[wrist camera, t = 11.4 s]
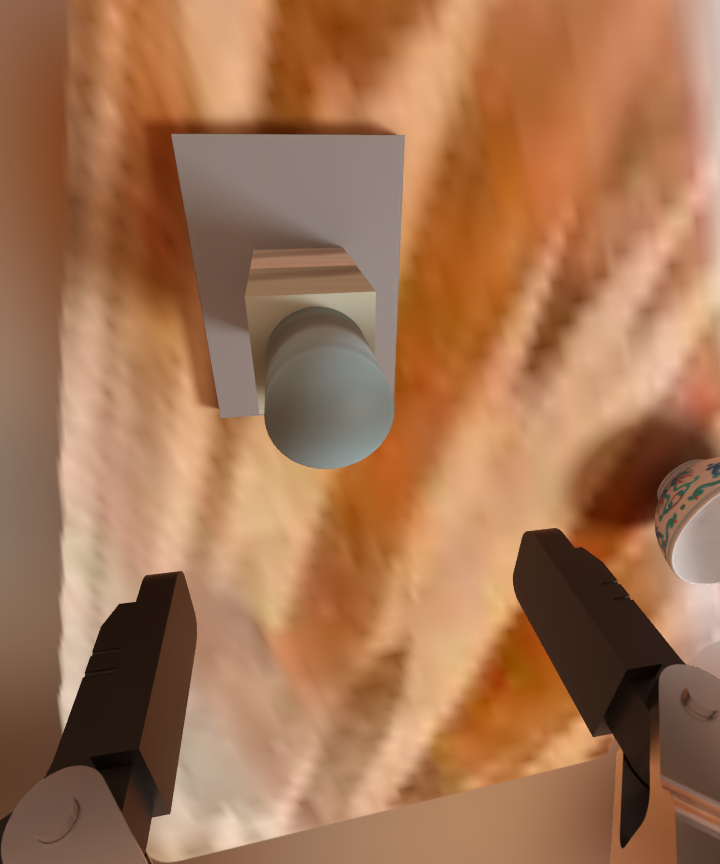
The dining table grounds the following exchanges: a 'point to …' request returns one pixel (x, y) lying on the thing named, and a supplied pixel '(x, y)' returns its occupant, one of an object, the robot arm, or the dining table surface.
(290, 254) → the base block
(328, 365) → the cylinder
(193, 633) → the robot arm
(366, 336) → the top block
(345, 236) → the tower board
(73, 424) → the dining table surface
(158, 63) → the dining table surface
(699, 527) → the chinaware
